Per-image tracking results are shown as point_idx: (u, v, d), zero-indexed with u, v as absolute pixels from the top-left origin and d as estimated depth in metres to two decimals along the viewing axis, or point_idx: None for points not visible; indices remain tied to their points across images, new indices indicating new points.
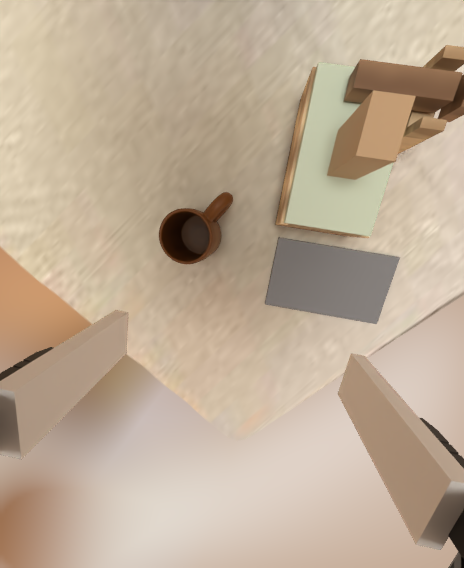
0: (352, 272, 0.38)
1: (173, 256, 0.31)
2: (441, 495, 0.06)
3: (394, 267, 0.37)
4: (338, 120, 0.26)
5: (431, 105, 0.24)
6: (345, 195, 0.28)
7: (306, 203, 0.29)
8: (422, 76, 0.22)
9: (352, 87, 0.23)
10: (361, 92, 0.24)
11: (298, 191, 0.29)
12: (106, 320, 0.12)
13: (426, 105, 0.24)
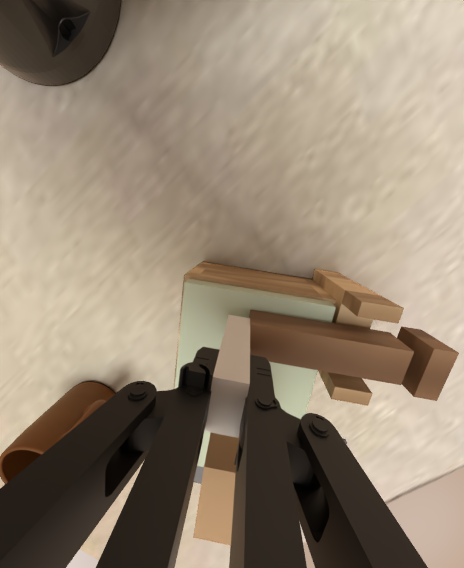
0: None
1: None
2: (229, 393, 0.09)
3: None
4: None
5: None
6: None
7: None
8: (351, 351, 0.14)
9: None
10: None
11: None
12: (231, 324, 0.14)
13: None
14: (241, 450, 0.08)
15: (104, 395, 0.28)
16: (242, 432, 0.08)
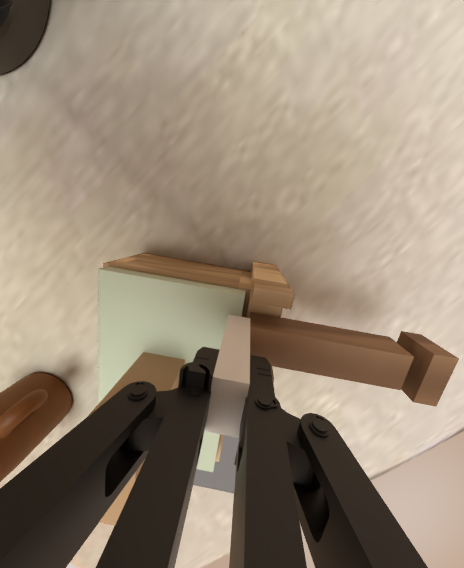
0: (236, 447, 0.30)
1: None
2: (229, 393, 0.09)
3: None
4: (141, 340, 0.18)
5: None
6: None
7: None
8: (350, 355, 0.14)
9: None
10: None
11: None
12: (231, 323, 0.14)
13: None
14: (241, 450, 0.08)
15: (52, 386, 0.29)
16: (242, 432, 0.08)
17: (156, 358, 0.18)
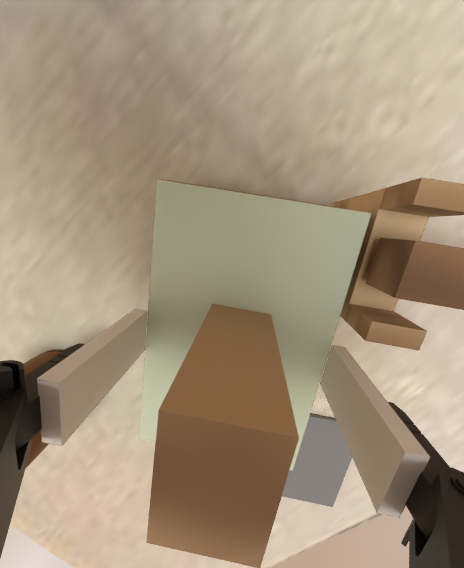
0: None
1: None
2: (397, 466, 0.07)
3: None
4: (211, 287, 0.13)
5: None
6: None
7: None
8: None
9: (391, 291, 0.10)
10: None
11: (154, 395, 0.15)
12: (128, 318, 0.12)
13: None
14: (419, 532, 0.07)
15: None
16: (424, 510, 0.07)
17: (233, 310, 0.13)
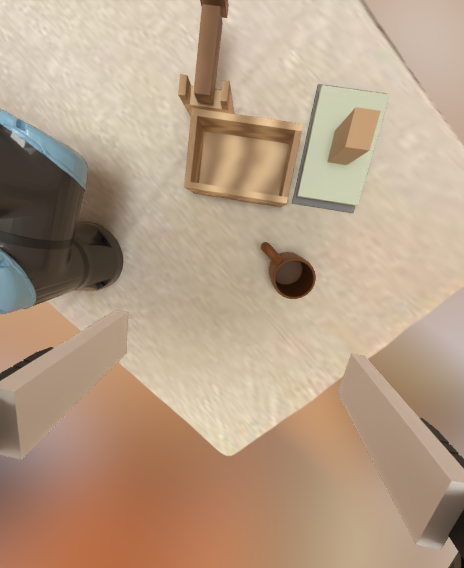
0: None
1: (308, 289, 0.40)
2: (441, 495, 0.06)
3: None
4: (335, 124, 0.39)
5: (220, 25, 0.31)
6: (340, 176, 0.41)
7: (313, 181, 0.41)
8: (204, 38, 0.31)
9: (209, 96, 0.32)
10: (211, 88, 0.32)
11: (307, 173, 0.41)
12: (106, 320, 0.12)
13: (219, 29, 0.31)
14: None
15: None
16: None
17: None
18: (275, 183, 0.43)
